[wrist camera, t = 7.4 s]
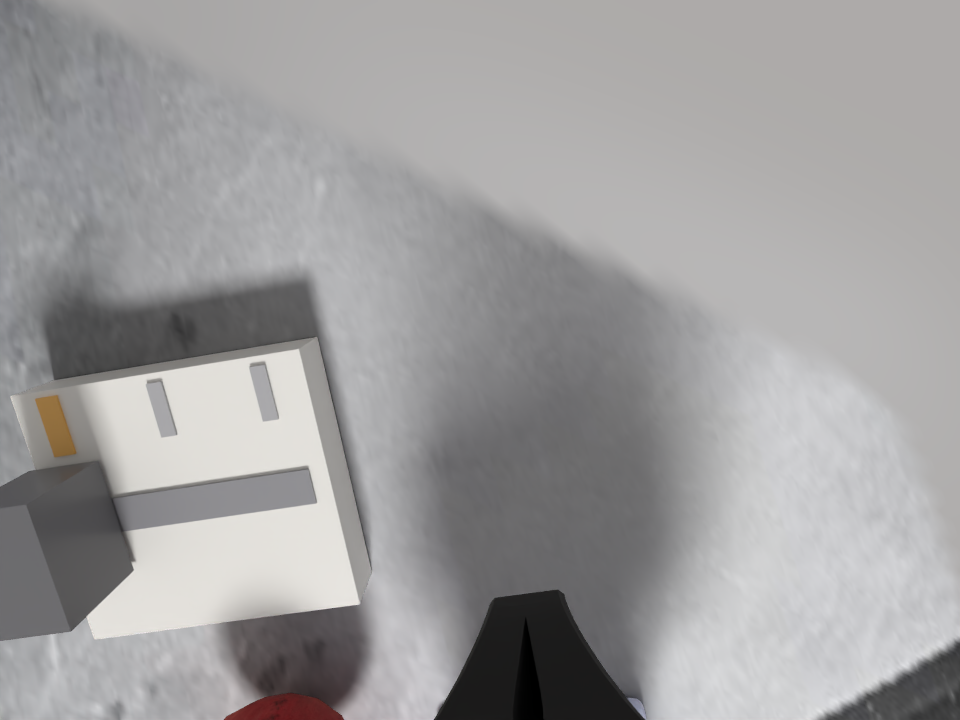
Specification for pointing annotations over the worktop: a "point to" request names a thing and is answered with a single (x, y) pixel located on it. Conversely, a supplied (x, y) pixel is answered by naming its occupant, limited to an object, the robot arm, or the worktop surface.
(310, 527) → the console
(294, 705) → the onion
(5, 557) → the fader knob
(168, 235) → the worktop surface
